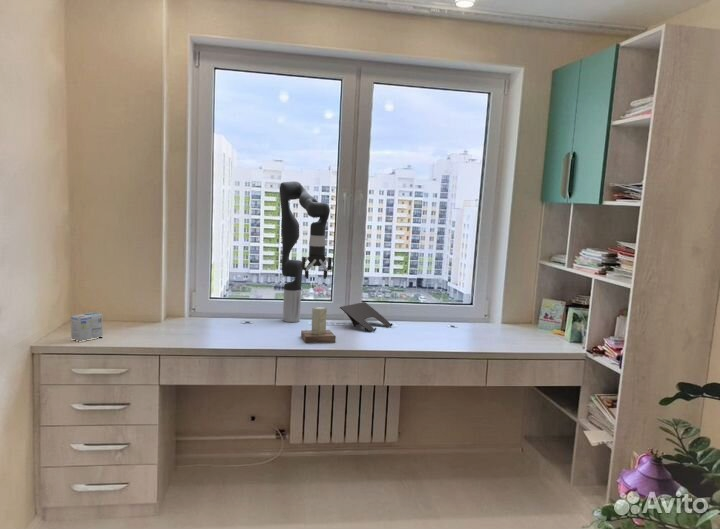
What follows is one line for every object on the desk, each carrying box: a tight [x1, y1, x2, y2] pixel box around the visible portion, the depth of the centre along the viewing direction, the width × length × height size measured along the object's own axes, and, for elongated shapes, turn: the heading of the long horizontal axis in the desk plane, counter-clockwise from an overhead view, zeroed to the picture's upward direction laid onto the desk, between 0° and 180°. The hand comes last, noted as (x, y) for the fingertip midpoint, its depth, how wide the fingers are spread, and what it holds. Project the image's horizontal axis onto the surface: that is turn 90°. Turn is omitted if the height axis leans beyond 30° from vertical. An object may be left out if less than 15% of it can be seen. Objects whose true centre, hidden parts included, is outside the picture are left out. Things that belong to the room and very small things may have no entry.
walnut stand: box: [300, 329, 337, 344], centre depth 241 cm, size 12×14×3 cm
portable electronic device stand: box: [339, 301, 393, 333], centre depth 275 cm, size 23×23×9 cm
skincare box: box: [311, 306, 327, 335], centre depth 241 cm, size 6×4×12 cm
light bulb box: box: [70, 311, 104, 341], centre depth 221 cm, size 11×7×11 cm, turn 152°
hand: (315, 278), depth 244 cm, fingers open, 8 cm apart
